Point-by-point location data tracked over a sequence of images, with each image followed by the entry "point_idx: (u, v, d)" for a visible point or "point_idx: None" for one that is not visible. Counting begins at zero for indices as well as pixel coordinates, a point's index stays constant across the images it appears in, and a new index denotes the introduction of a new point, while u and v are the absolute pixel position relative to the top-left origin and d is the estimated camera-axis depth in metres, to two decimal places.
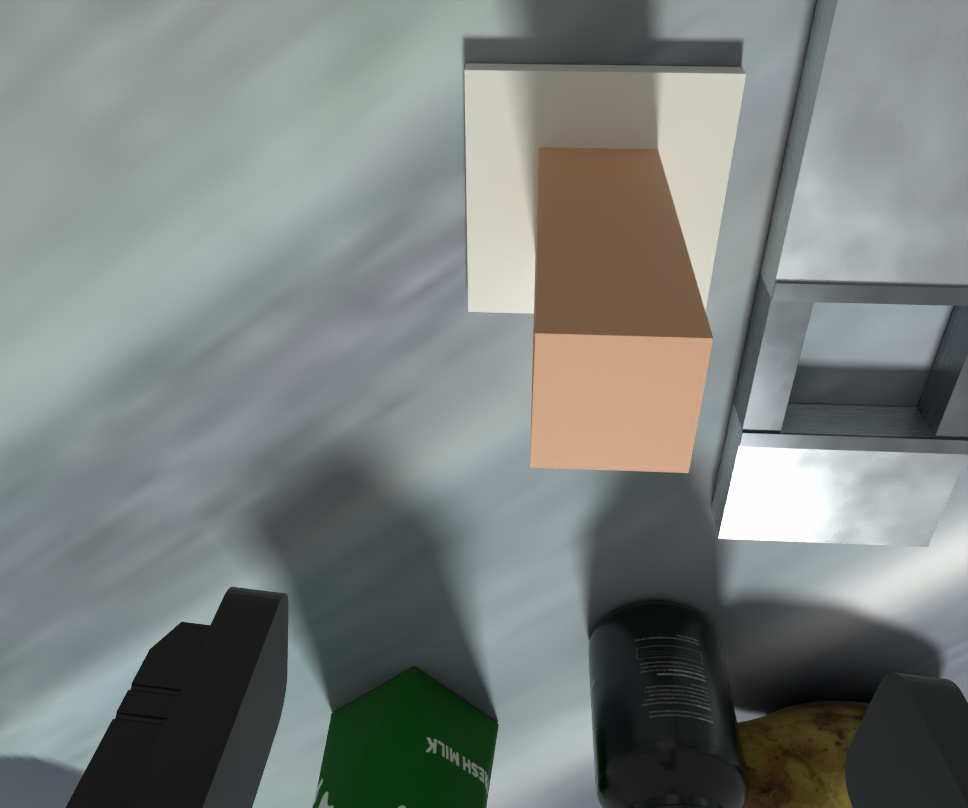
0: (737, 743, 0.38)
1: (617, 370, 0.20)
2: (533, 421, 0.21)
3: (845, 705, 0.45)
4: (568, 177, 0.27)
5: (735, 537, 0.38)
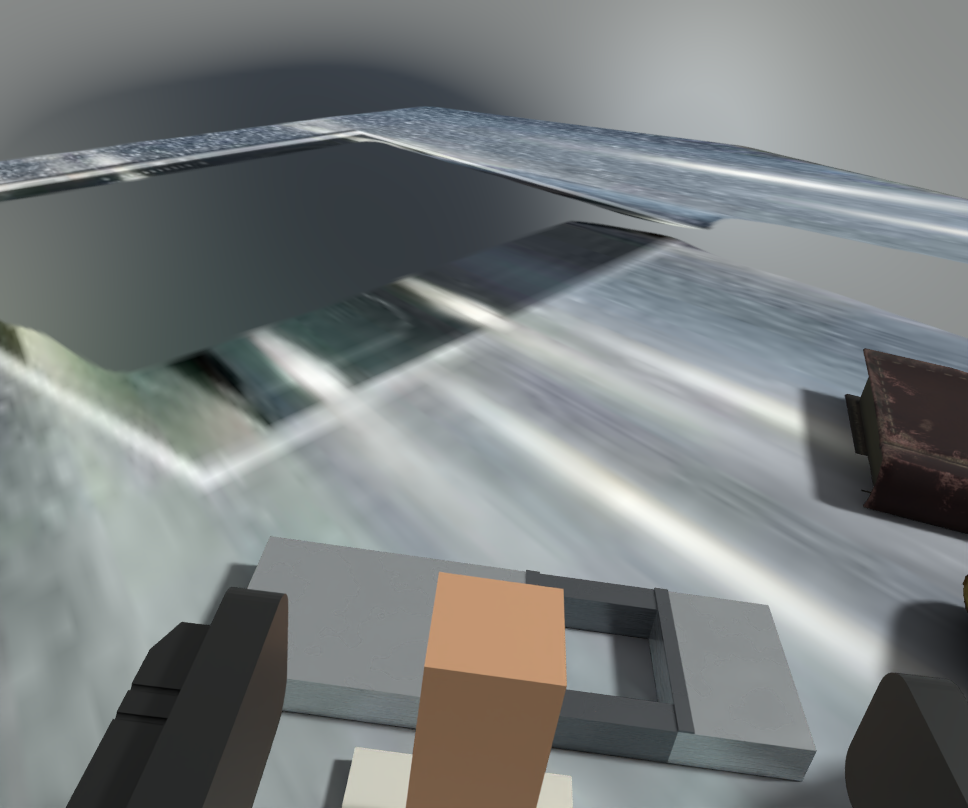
0: None
1: (463, 621, 0.26)
2: (514, 678, 0.24)
3: None
4: None
5: (810, 737, 0.38)
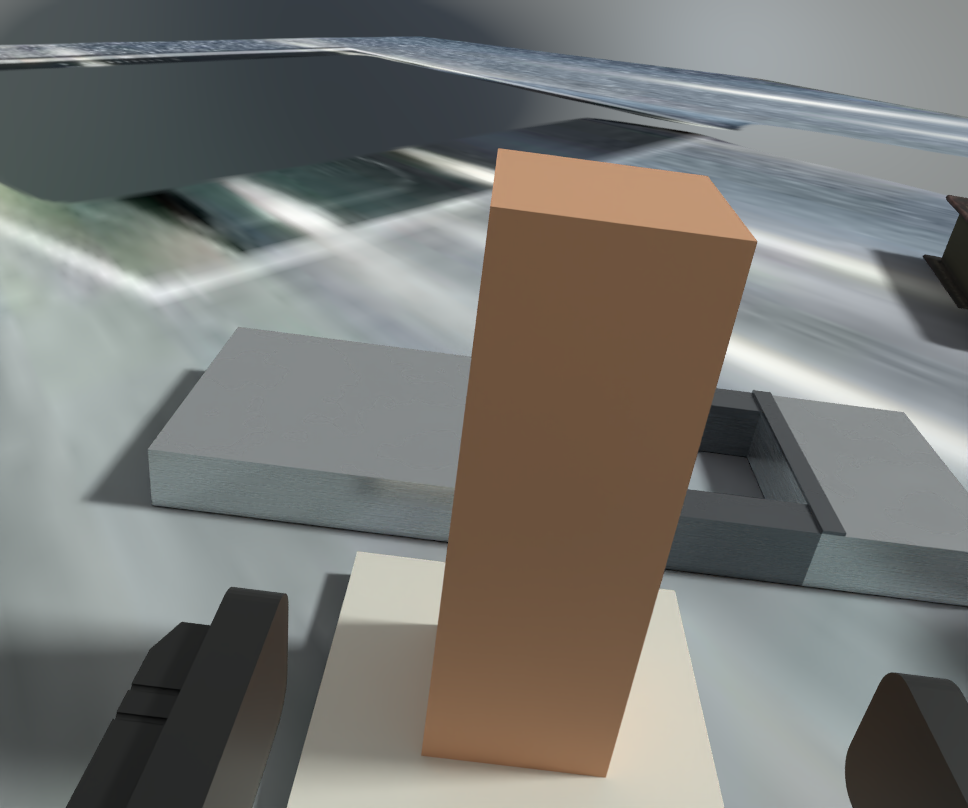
0: None
1: (551, 181, 0.14)
2: (660, 229, 0.13)
3: None
4: None
5: None
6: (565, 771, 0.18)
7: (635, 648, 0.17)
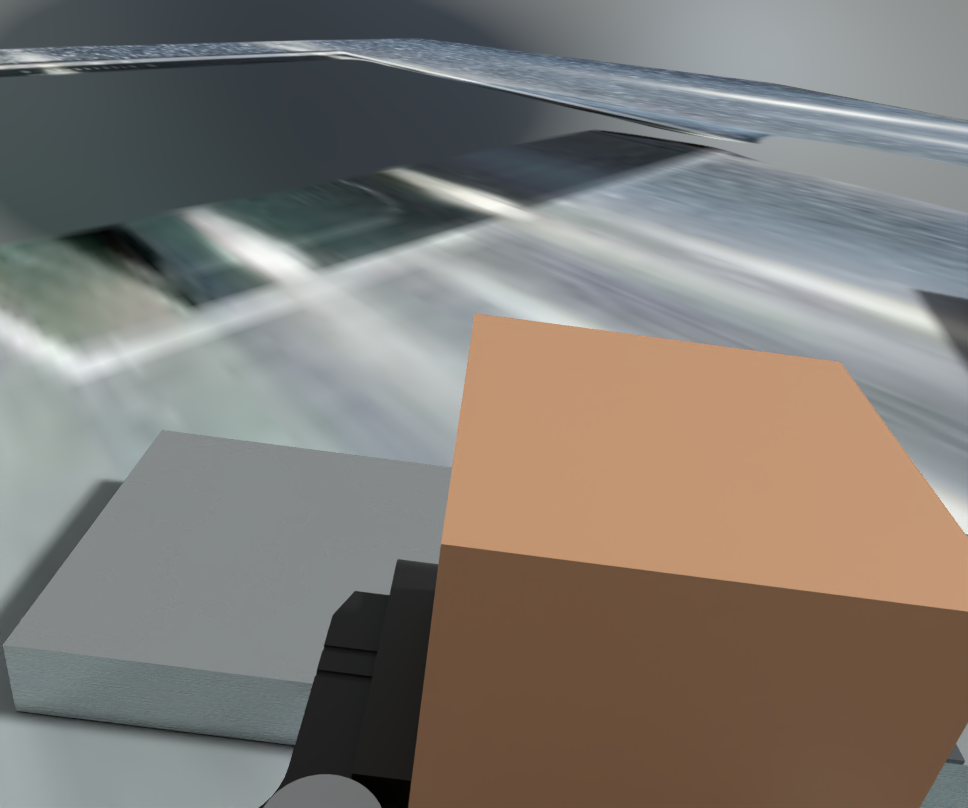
0: None
1: (570, 418, 0.07)
2: (812, 590, 0.06)
3: None
4: None
5: None
6: None
7: None
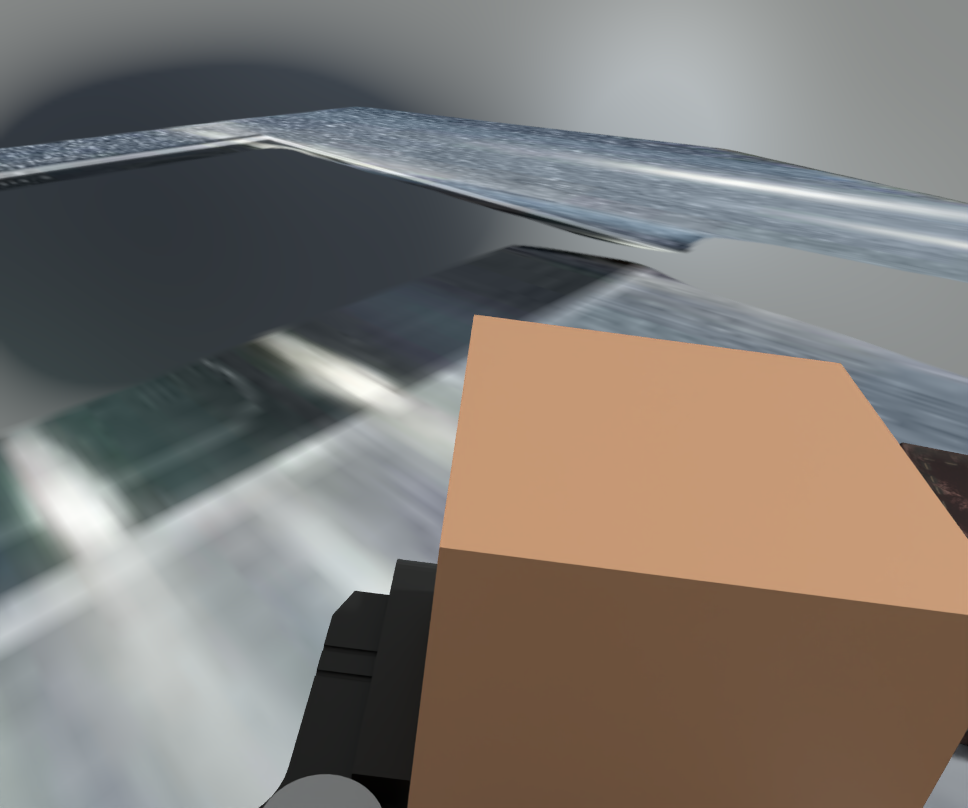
0: None
1: (569, 421, 0.07)
2: (813, 593, 0.06)
3: None
4: None
5: None
6: None
7: None
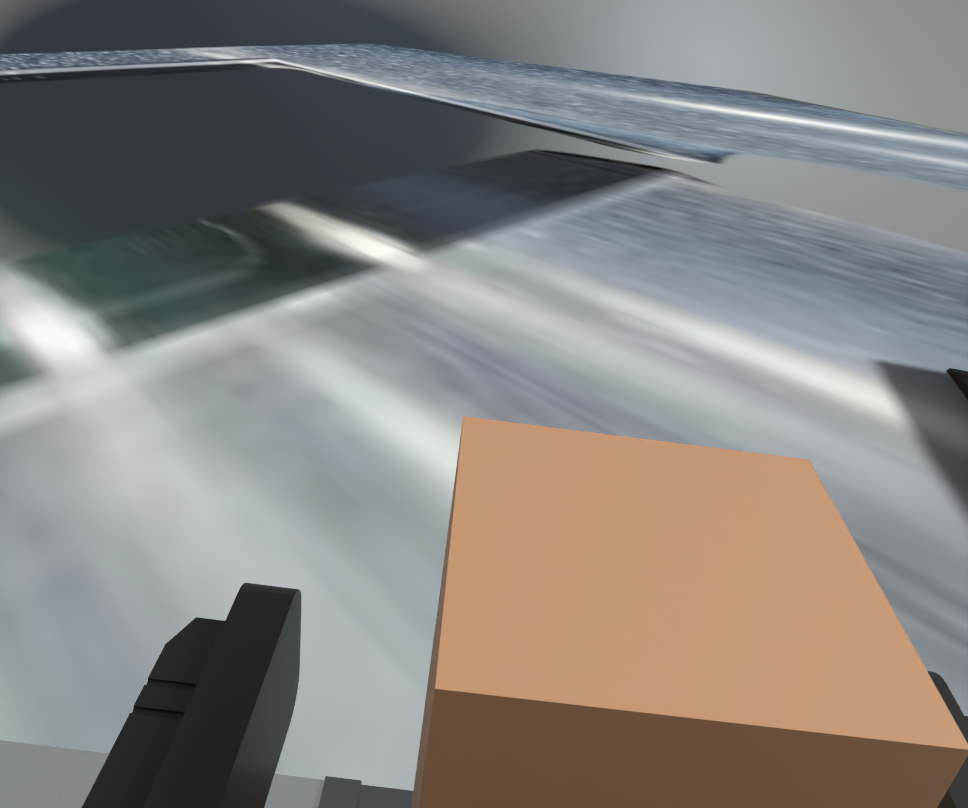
0: None
1: (552, 538, 0.08)
2: (776, 725, 0.06)
3: None
4: None
5: None
6: None
7: None
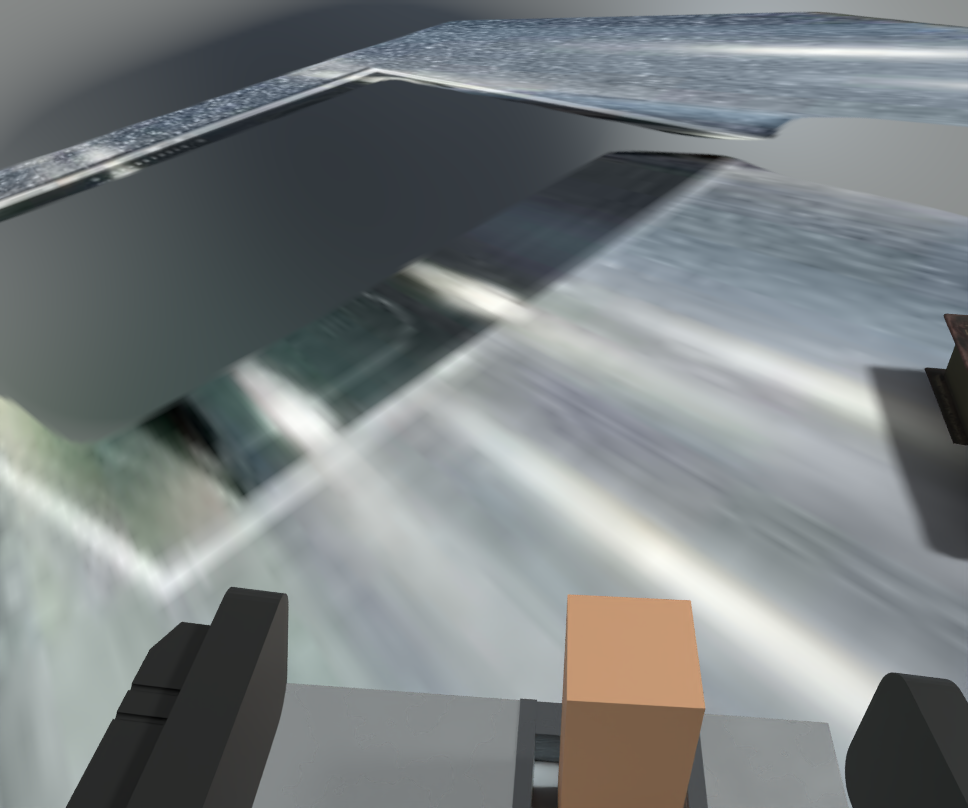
0: None
1: (598, 647, 0.27)
2: (654, 704, 0.25)
3: None
4: None
5: None
6: None
7: None
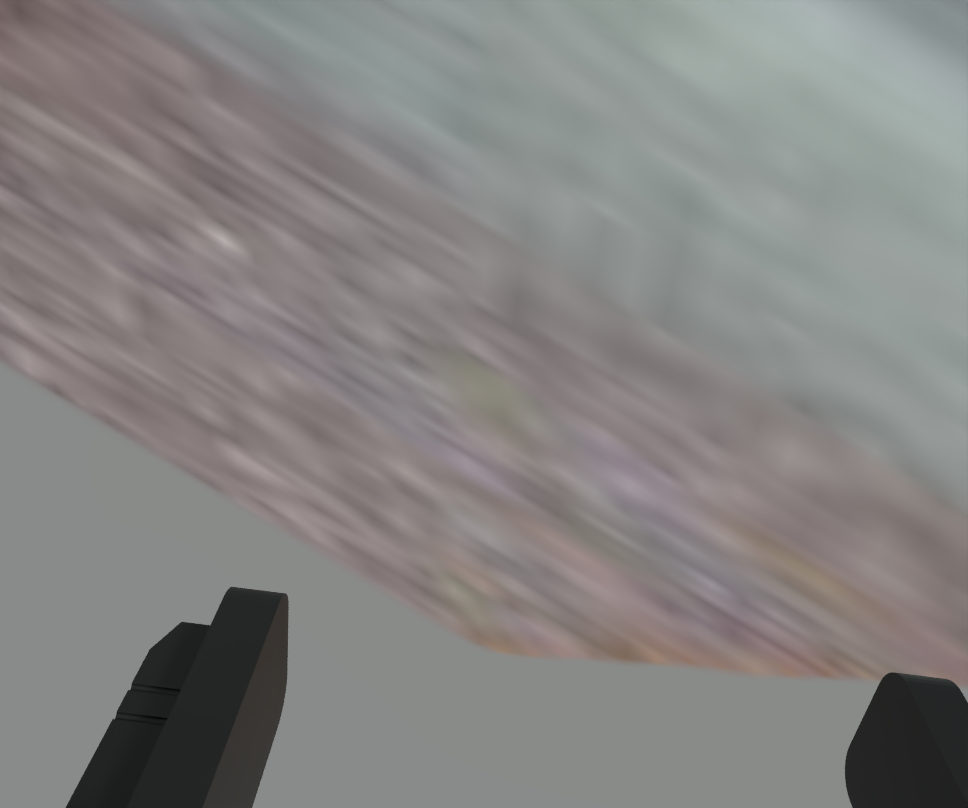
0: None
1: None
2: None
3: None
4: None
5: None
6: None
7: None
